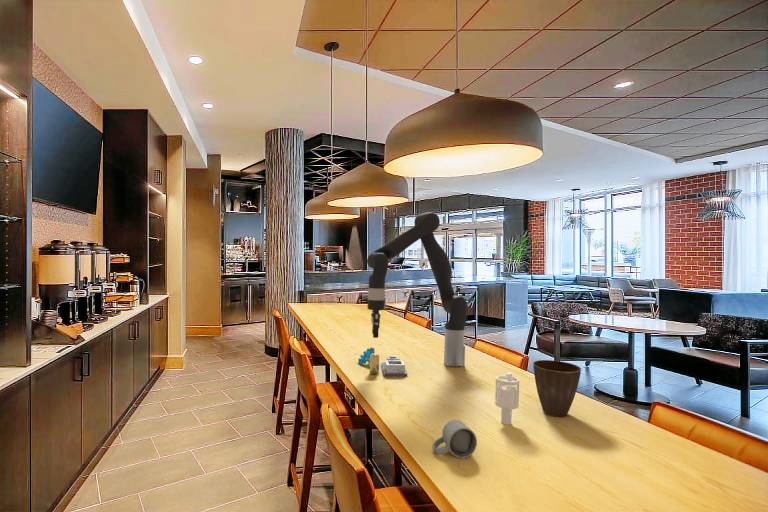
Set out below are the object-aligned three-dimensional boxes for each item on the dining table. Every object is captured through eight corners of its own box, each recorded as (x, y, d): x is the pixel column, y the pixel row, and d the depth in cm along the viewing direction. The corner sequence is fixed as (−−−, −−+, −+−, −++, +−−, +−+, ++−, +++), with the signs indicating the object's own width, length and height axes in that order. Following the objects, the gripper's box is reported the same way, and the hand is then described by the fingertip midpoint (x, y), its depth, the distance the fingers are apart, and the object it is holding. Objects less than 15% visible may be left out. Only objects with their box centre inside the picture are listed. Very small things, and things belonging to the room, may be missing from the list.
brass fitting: (378, 372, 182) (378, 354, 182) (379, 375, 178) (379, 356, 178) (369, 372, 182) (369, 354, 182) (369, 375, 178) (370, 356, 178)
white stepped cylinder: (520, 421, 131) (521, 374, 131) (515, 429, 125) (516, 379, 125) (498, 416, 135) (499, 370, 135) (491, 423, 129) (493, 375, 129)
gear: (355, 357, 200) (370, 343, 201) (363, 365, 202) (378, 351, 203) (359, 367, 190) (375, 351, 190) (367, 375, 191) (383, 360, 192)
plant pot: (575, 408, 144) (576, 362, 144) (584, 424, 130) (585, 373, 130) (530, 402, 148) (531, 358, 148) (533, 418, 134) (535, 369, 134)
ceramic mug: (465, 443, 115) (466, 415, 115) (477, 457, 106) (477, 427, 106) (428, 445, 113) (429, 417, 113) (437, 460, 105) (437, 430, 105)
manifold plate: (402, 365, 195) (402, 355, 195) (407, 376, 177) (407, 365, 177) (381, 365, 194) (381, 355, 194) (384, 376, 176) (384, 365, 176)
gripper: (386, 300, 173) (384, 339, 173) (383, 297, 187) (382, 332, 187) (368, 300, 173) (367, 338, 173) (367, 296, 187) (366, 332, 187)
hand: (375, 335), depth 180 cm, fingers open, 8 cm apart
